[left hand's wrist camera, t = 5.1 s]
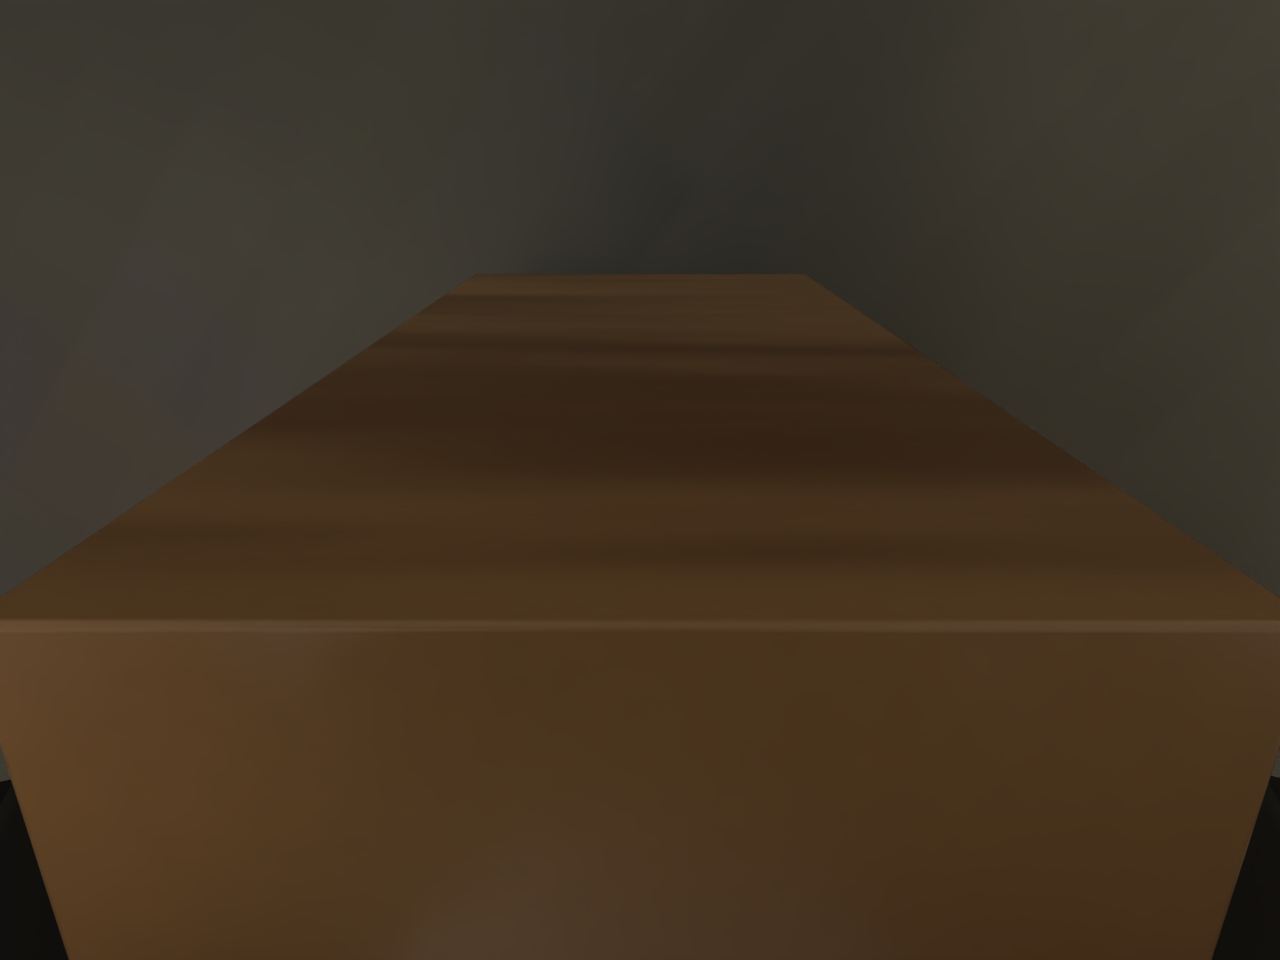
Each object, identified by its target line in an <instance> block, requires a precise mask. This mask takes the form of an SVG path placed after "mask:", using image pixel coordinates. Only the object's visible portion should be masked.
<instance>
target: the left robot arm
mask: <svg viewBox="0 0 1280 960" xmlns="http://www.w3.org/2000/svg"><path fill="white" fill-rule="evenodd" d="M0 960H69V959H68V956H67V953H66V950H65V947H64V943H63V940H62V937H61V934H60V931H59V928H58V925H57V922H56V918H55V915H54V912H53V909H52V906H51V903H50V900H49V897H48V894H47V890H46V887H45V884H44V881H43V878H42V875H41V872H40V869H39V865H38V862H37V859H36V856H35V853H34V850H33V847H32V844H31V841H30V837H29V834H28V831H27V828H26V825H25V822H24V819H23V816H22V812H21V809H20V806H19V803H18V800H17V797H16V794H15V791H14V788H13V784H12V781H11V780H7V781H2V782H0ZM1212 960H1280V778H1278V777H1274V776H1270V779H1269V782H1268V786H1267V789H1266V792H1265V795H1264V798H1263V801H1262V804H1261V807H1260V810H1259V814H1258V817H1257V820H1256V823H1255V826H1254V829H1253V832H1252V835H1251V839H1250V842H1249V845H1248V848H1247V851H1246V854H1245V857H1244V860H1243V863H1242V867H1241V870H1240V873H1239V876H1238V879H1237V882H1236V885H1235V888H1234V891H1233V895H1232V898H1231V901H1230V904H1229V907H1228V910H1227V913H1226V916H1225V920H1224V923H1223V926H1222V929H1221V932H1220V935H1219V938H1218V941H1217V944H1216V948H1215V951H1214V954H1213V957H1212Z"/></svg>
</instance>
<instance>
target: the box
mask: <svg viewBox="0 0 1280 960" xmlns="http://www.w3.org/2000/svg"><path fill="white" fill-rule="evenodd" d="M0 747H1V750H2V753H3V756H4V759H5V763H6V766H7V769H8V772H9V775H10V778H11V781H12V784H13V788H14V791H15V794H16V797H17V800H18V803H19V806H20V809H21V812H22V816H23V819H24V822H25V825H26V828H27V831H28V834H29V837H30V841H31V844H32V847H33V850H34V853H35V856H36V859H37V862H38V865H39V869H40V872H41V875H42V878H43V881H44V884H45V887H46V890H47V894H48V897H49V900H50V903H51V906H52V909H53V912H54V915H55V918H56V922H57V925H58V928H59V931H60V934H61V937H62V940H63V943H64V947H65V950H66V953H67V956H68V959H69V960H1212V957H1213V954H1214V951H1215V948H1216V944H1217V941H1218V938H1219V935H1220V932H1221V929H1222V926H1223V923H1224V920H1225V916H1226V913H1227V910H1228V907H1229V904H1230V901H1231V898H1232V895H1233V891H1234V888H1235V885H1236V882H1237V879H1238V876H1239V873H1240V870H1241V867H1242V863H1243V860H1244V857H1245V854H1246V851H1247V848H1248V845H1249V842H1250V839H1251V835H1252V832H1253V829H1254V826H1255V823H1256V820H1257V817H1258V814H1259V810H1260V807H1261V804H1262V801H1263V798H1264V795H1265V792H1266V789H1267V786H1268V782H1269V779H1270V776H1271V773H1272V770H1273V767H1274V764H1275V761H1276V758H1277V754H1278V751H1279V748H1280V598H1279V597H1278V596H1276V595H1275V594H1273V593H1272V592H1270V591H1269V590H1267V589H1266V588H1264V587H1263V586H1261V585H1260V584H1259V583H1257V582H1256V581H1254V580H1253V579H1251V578H1250V577H1248V576H1247V575H1245V574H1244V573H1242V572H1241V571H1240V570H1238V569H1237V568H1235V567H1234V566H1232V565H1231V564H1229V563H1228V562H1226V561H1225V560H1223V559H1222V558H1220V557H1219V556H1218V555H1216V554H1215V553H1213V552H1212V551H1210V550H1209V549H1207V548H1206V547H1204V546H1203V545H1201V544H1200V543H1198V542H1197V541H1196V540H1194V539H1193V538H1191V537H1190V536H1188V535H1187V534H1185V533H1184V532H1182V531H1181V530H1179V529H1178V528H1177V527H1175V526H1174V525H1172V524H1171V523H1169V522H1168V521H1166V520H1165V519H1163V518H1162V517H1160V516H1159V515H1157V514H1156V513H1155V512H1153V511H1152V510H1150V509H1149V508H1147V507H1146V506H1144V505H1143V504H1141V503H1140V502H1138V501H1137V500H1135V499H1134V498H1133V497H1131V496H1130V495H1128V494H1127V493H1125V492H1124V491H1122V490H1121V489H1119V488H1118V487H1116V486H1115V485H1114V484H1112V483H1111V482H1109V481H1108V480H1106V479H1105V478H1103V477H1102V476H1100V475H1099V474H1097V473H1096V472H1094V471H1093V470H1092V469H1090V468H1089V467H1087V466H1086V465H1084V464H1083V463H1081V462H1080V461H1078V460H1077V459H1075V458H1074V457H1072V456H1071V455H1070V454H1068V453H1067V452H1065V451H1064V450H1062V449H1061V448H1059V447H1058V446H1056V445H1055V444H1053V443H1052V442H1051V441H1049V440H1048V439H1046V438H1045V437H1043V436H1042V435H1040V434H1039V433H1037V432H1036V431H1034V430H1033V429H1031V428H1030V427H1029V426H1027V425H1026V424H1024V423H1023V422H1021V421H1020V420H1018V419H1017V418H1015V417H1014V416H1012V415H1011V414H1010V413H1008V412H1007V411H1005V410H1004V409H1002V408H1001V407H999V406H998V405H996V404H995V403H993V402H992V401H990V400H989V399H988V398H986V397H985V396H983V395H982V394H980V393H979V392H977V391H976V390H974V389H973V388H971V387H970V386H968V385H967V384H966V383H964V382H963V381H961V380H960V379H958V378H957V377H955V376H954V375H952V374H951V373H949V372H948V371H947V370H945V369H944V368H942V367H941V366H939V365H938V364H936V363H935V362H933V361H932V360H930V359H929V358H927V357H926V356H925V355H923V354H922V353H920V352H919V351H917V350H916V349H914V348H913V347H911V346H910V345H908V344H907V343H905V342H904V341H903V340H901V339H900V338H898V337H897V336H895V335H894V334H892V333H891V332H889V331H888V330H886V329H885V328H884V327H882V326H881V325H879V324H878V323H876V322H875V321H873V320H872V319H870V318H869V317H867V316H866V315H864V314H863V313H862V312H860V311H859V310H857V309H856V308H854V307H853V306H851V305H850V304H848V303H847V302H845V301H844V300H842V299H841V298H840V297H838V296H837V295H835V294H834V293H832V292H831V291H829V290H828V289H826V288H825V287H823V286H822V285H821V284H819V283H818V282H816V281H815V280H813V279H812V278H810V277H809V276H807V275H806V274H476V275H474V276H472V277H471V278H469V279H468V280H466V281H465V282H463V283H462V284H461V285H459V286H458V287H456V288H455V289H453V290H452V291H450V292H449V293H447V294H446V295H444V296H443V297H441V298H440V299H438V300H437V301H436V302H434V303H433V304H431V305H430V306H428V307H427V308H425V309H424V310H422V311H421V312H419V313H418V314H416V315H415V316H413V317H412V318H411V319H409V320H408V321H406V322H405V323H403V324H402V325H400V326H399V327H397V328H396V329H394V330H393V331H391V332H390V333H388V334H387V335H386V336H384V337H383V338H381V339H380V340H378V341H377V342H375V343H374V344H372V345H371V346H369V347H368V348H366V349H365V350H364V351H362V352H361V353H359V354H358V355H356V356H355V357H353V358H352V359H350V360H349V361H347V362H346V363H344V364H343V365H341V366H340V367H339V368H337V369H336V370H334V371H333V372H331V373H330V374H328V375H327V376H325V377H324V378H322V379H321V380H319V381H318V382H316V383H315V384H314V385H312V386H311V387H309V388H308V389H306V390H305V391H303V392H302V393H300V394H299V395H297V396H296V397H294V398H293V399H291V400H290V401H289V402H287V403H286V404H284V405H283V406H281V407H280V408H278V409H277V410H275V411H274V412H272V413H271V414H269V415H268V416H266V417H265V418H264V419H262V420H261V421H259V422H258V423H256V424H255V425H253V426H252V427H250V428H249V429H247V430H246V431H244V432H243V433H241V434H240V435H239V436H237V437H236V438H234V439H233V440H231V441H230V442H228V443H227V444H225V445H224V446H222V447H221V448H219V449H218V450H216V451H215V452H214V453H212V454H211V455H209V456H208V457H206V458H205V459H203V460H202V461H200V462H199V463H197V464H196V465H194V466H193V467H191V468H190V469H189V470H187V471H186V472H184V473H183V474H181V475H180V476H178V477H177V478H175V479H174V480H172V481H171V482H169V483H168V484H166V485H165V486H164V487H162V488H161V489H159V490H158V491H156V492H155V493H153V494H152V495H150V496H149V497H147V498H146V499H144V500H143V501H141V502H140V503H139V504H137V505H136V506H134V507H133V508H131V509H130V510H128V511H127V512H125V513H124V514H122V515H121V516H119V517H118V518H116V519H115V520H114V521H112V522H111V523H109V524H108V525H106V526H105V527H103V528H102V529H100V530H99V531H97V532H96V533H94V534H93V535H91V536H90V537H89V538H87V539H86V540H84V541H83V542H81V543H80V544H78V545H77V546H75V547H74V548H72V549H71V550H69V551H68V552H67V553H65V554H64V555H62V556H61V557H59V558H58V559H56V560H55V561H53V562H52V563H50V564H49V565H47V566H46V567H44V568H43V569H42V570H40V571H39V572H37V573H36V574H34V575H33V576H31V577H30V578H28V579H27V580H25V581H24V582H22V583H21V584H19V585H18V586H17V587H15V588H14V589H12V590H11V591H9V592H8V593H6V594H5V595H3V596H2V597H0Z"/></svg>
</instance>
